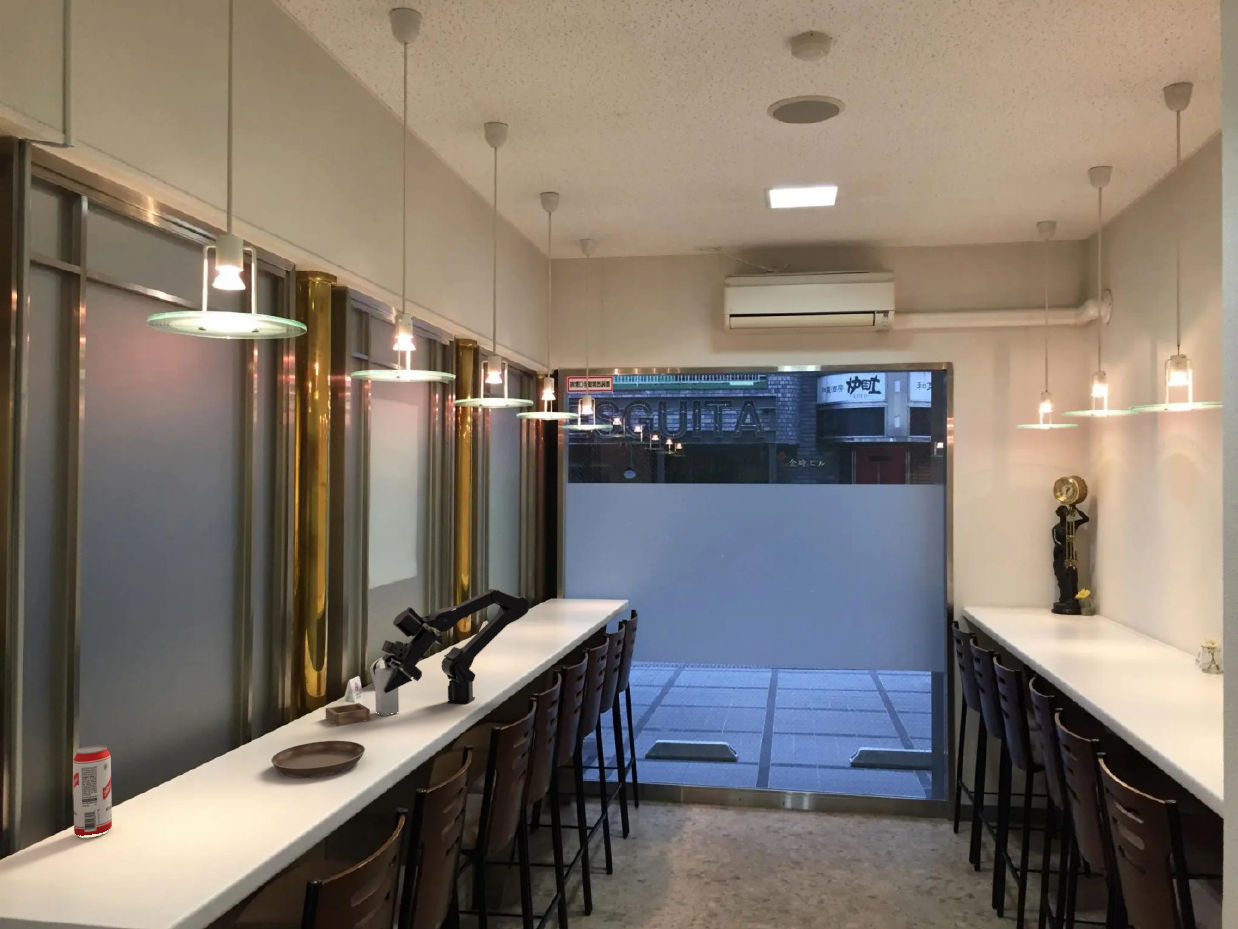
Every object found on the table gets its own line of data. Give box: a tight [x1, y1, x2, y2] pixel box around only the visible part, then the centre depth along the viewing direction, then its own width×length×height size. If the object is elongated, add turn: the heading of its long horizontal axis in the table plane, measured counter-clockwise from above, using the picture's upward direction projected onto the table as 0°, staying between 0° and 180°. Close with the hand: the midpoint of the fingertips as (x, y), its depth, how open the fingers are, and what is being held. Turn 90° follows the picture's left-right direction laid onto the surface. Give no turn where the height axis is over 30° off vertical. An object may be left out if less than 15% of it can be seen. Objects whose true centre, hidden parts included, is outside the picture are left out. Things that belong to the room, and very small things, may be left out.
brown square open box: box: [325, 702, 371, 726], centre depth 259 cm, size 10×10×3 cm
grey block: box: [374, 667, 400, 716], centre depth 265 cm, size 5×5×12 cm
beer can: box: [72, 744, 113, 836], centre depth 177 cm, size 6×6×16 cm
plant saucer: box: [271, 740, 366, 778], centre depth 216 cm, size 21×21×3 cm
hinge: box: [369, 657, 385, 688], centre depth 306 cm, size 17×5×10 cm, turn 171°
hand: (381, 690), depth 265 cm, fingers closed on grey block, 5 cm apart
